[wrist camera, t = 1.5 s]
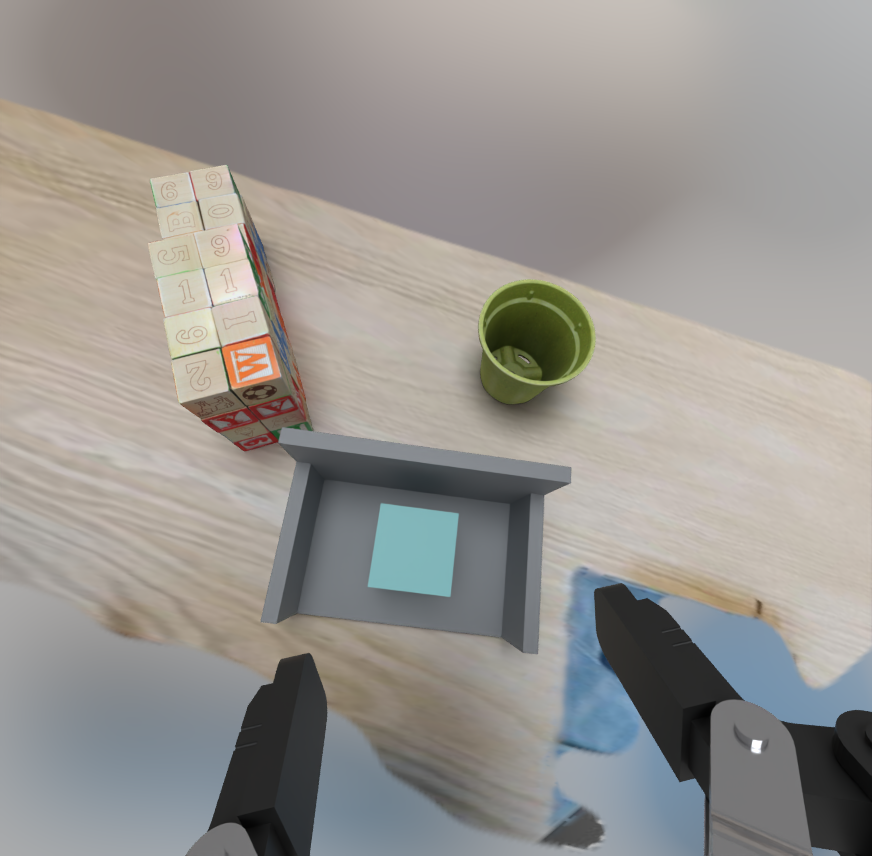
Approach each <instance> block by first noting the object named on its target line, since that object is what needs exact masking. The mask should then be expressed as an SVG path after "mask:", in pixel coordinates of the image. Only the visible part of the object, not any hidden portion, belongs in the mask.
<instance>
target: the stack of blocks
mask: <svg viewBox="0 0 872 856" xmlns="http://www.w3.org/2000/svg"><path fill="white" fill-rule="evenodd" d="M150 183H151V188H152V192H153V196H154V201H155V205H156V207H157V209H156V213H157V217H158V222H159V226H160V231H161V236H162V239H163V240H160V241H155V242H150V243H148V248H149V253H150V257H151V261H152V266H153V271H154V276H155V279H156V280H157V284H158V290H159V294H160V298H161V304H162V309H163V313H164V316H165V318H164V326H165V331H166V336H167V341H168V346H169V351H170V356H171V358H172V362H171V365H172V370H173V376H174V381H175V387H176V392H177V397H178V401H179V403H180V404H181V405H182V406H183V407H185V408H186V409H188V410H189V411H190V412H192V413H193V414H195V415H196V416H198V417H199V418H201V421H202V422H203V423H205V424H206V425H208V426H209V427H210V428H212V429H213V430H215V431H216V432H218V433H220V434H222V435H223V436H225V437H226V438H227V439H229V440H230V441H232V443H234V444H235V445H236V446H238V447H239V448H240V449H242V450H243V451H248V450H252V449H255V448H259V447H262V446H265V445H269V444H272V443H276V442H278V441H279V438H280V434H281V430H282V427H285V428H292V429H299V430H306V431H313V428H312V424H311V421H310V417H309V413H308V409H307V406H306V398H305V395H304V391H303V387H302V384H301V380H300V376H299V373H298V369H297V365H296V361H295V357H294V354H293V350H292V346H291V344H290V342H289V340H288V337H287V333H286V329H285V326H284V322H283V319H282V316H281V314H280V310H279V306H278V303H277V299H276V295H275V293H274V292H275V287H274V283H273V279H272V276H271V272H270V269H269V265H268V263H267V259H266V256H265V252H264V249H263V245H262V242H261V240H260V238H259V236H258V233H257V231H256V228H255V226H254V223H253V221H252V218H251V216H250V214H249V211H248V209H247V207H246V204H245V202H244V200H243V197H242V196H241V195H240V194H239V191H238V189H237V187H236V184H235V182H234V180H233V177H232V175H231V173H230V170H229V168H228V166H227V165H224V166H218V167H212V168H206V169H200V170H194V171H190V172H189V173H181V174H175V175H169V176H164V177H158V178H153V179H150Z"/></svg>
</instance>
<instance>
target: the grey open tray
mask: <svg viewBox="0 0 872 856" xmlns="http://www.w3.org/2000/svg"><path fill="white" fill-rule="evenodd" d="M278 443H279V444H280V445H281V446H282V447H283V448H284V449H285V450H286V451H287V452H288V453H289V454H290V455H291V456H292V457H293V458H294V459H295V460H296V461H297V462H296V467H295V471H294V476H293V480H292V484H291V489H290V493H289V498H288V502H287V507H286V511H285V515H284V520H283V524H282V529H281V533H280V538H279V542H278V546H277V551H276V555H275V560H274V564H273V569H272V573H271V577H270V582H269V586H268V591H267V595H266V600H265V604H264V608H263V613H262V617H261V622H265V623H273V624H277V623H279V622H281V621H283V620H285V619H287V618H289V617H291V616H293V615H295V614H297V613H299V614H308V615H316V616H325V617H333V618H342V619H350V620H359V621H367V622H376V623H384V624H393V625H401V626H410V627H418V628H427V629H435V630H444V631H452V632H461V633H469V634H478V635H486V636H494V637H502V638H503V639H504V640H506V641H507V642H509V643H510V644H512V645H513V646H514V647H516V648H517V649H519V650H520V651H521V652H523V653H531V654H538V639H539V614H540V589H541V564H542V539H543V514H544V495H546V494H548V493H550V492H552V491H554V490H557V489H559V488H561V487H563V486H565V485H568V484H570V483H571V467H566V466H558V465H551V464H544V463H537V462H530V461H522V460H515V459H508V458H501V457H494V456H486V455H479V454H472V453H465V452H458V451H450V450H443V449H436V448H429V447H422V446H414V445H407V444H400V443H393V442H386V441H378V440H371V439H364V438H357V437H350V436H342V435H335V434H328V433H321V432H314V431H306V430H299V429H292V428H285V427H282V430H281V434H280V438H279V442H278ZM381 503H383V504H391V505H398V506H406V507H413V508H421V509H429V510H436V511H444V512H451V513H459V516H458V526H457V536H456V546H455V556H454V566H453V576H452V586H451V596H450V597H446V596H438V595H430V594H422V593H414V592H405V591H397V590H389V589H381V588H373V587H368V581H369V575H370V569H371V562H372V556H373V550H374V543H375V537H376V531H377V524H378V518H379V512H380V505H381Z"/></svg>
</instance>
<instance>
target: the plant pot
mask: <svg viewBox="0 0 872 856" xmlns="http://www.w3.org/2000/svg"><path fill="white" fill-rule="evenodd" d="M478 333H479V339H480V343H481V346H482V348H483V352H482V360H481V368H480V375H481V380H482V384H483V386H484V388H485V390H486V391H487V392H488V393H489V394H490V395H491V396H492V397H493V398H495V399H496V400H498V401H500V402H502V403H506V404H519V403H525V402H527V401H529V400H531V399H532V398H534V397H535V396H536V395H538V394H539V393H540V392H542V391H543V390H545V389H546V388H547V387H549V386H554V385H559V384H562V383H565V382H567V381H569V380H571V379H573V378H574V377H576V376H577V375H578V374H579V373H581V372H582V371H583V370H584V369H585V367H586V366H587V365H588V363H589V361H590V360H591V358H592V356H593V353H594V348H595V341H596V336H595V329H594V325H593V321H592V319H591V317H590V315H589V313H588V312H587V310H586V309H585V307H584V306H583V305H582V303H581V302H580V301H579V300H578V299H577V298H576V297H575V296H574V295H572V294H571V293H569V292H568V291H567V290H565V289H564V288H562V287H560V286H557V285H554V284H552V283H550V282H546V281H542V280H530V279H527V280H519V281H514V282H511V283H508V284H506V285H504V286H502V287H500V288H499V289H497V290H496V291H495V292H494V293H493V294H492V295H491V296H490V297H489V298H488V300H487V301H486V303H485V304H484V306H483V308H482V311H481V314H480V317H479V324H478ZM518 355H522V356H524V357H525V358H527V359H528V360H529V361H530V363H529V364H528V363H527V362H525V361H524V360H523V359H522V358H520V357H518ZM494 357H497V359H495V358H494ZM512 372H513V373H512Z"/></svg>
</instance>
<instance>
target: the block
mask: <svg viewBox="0 0 872 856" xmlns="http://www.w3.org/2000/svg"><path fill="white" fill-rule="evenodd" d="M458 516H459V513H451V512H444V511H436V510H429V509H421V508H413V507H406V506H398V505H391V504H383V503H381V505H380V512H379V518H378V524H377V531H376V537H375V543H374V550H373V556H372V562H371V569H370V575H369V581H368V587H373V588H381V589H389V590H397V591H405V592H414V593H422V594H430V595H438V596H446V597H450V596H451V586H452V576H453V566H454V556H455V546H456V536H457V526H458Z"/></svg>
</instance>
